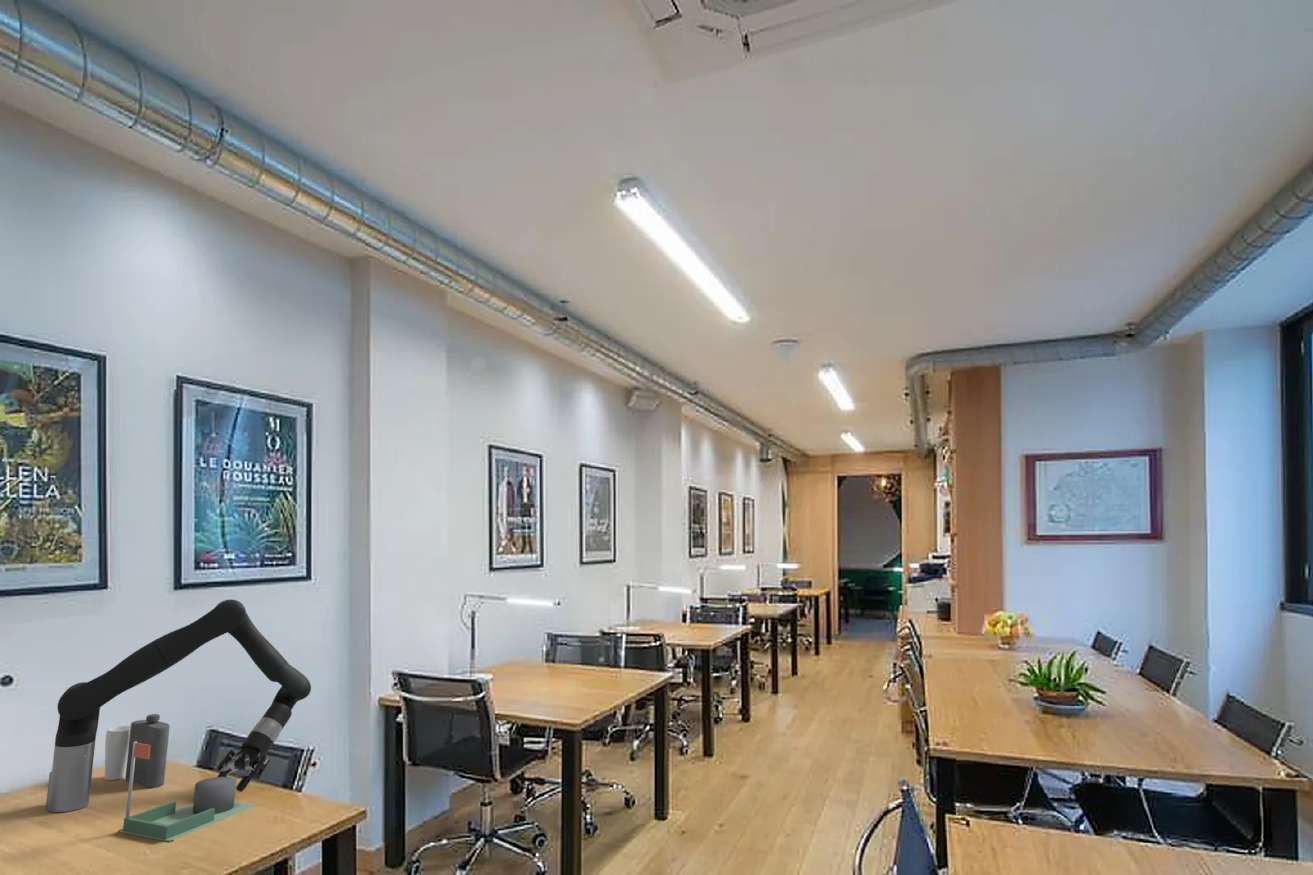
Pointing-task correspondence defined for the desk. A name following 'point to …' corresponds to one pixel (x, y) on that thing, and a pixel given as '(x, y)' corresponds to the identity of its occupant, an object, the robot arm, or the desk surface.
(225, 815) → the mini golf green
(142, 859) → the desk surface
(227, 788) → the grey domed cylinder
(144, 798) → the desk surface
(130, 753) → the flask
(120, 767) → the drinking glass
